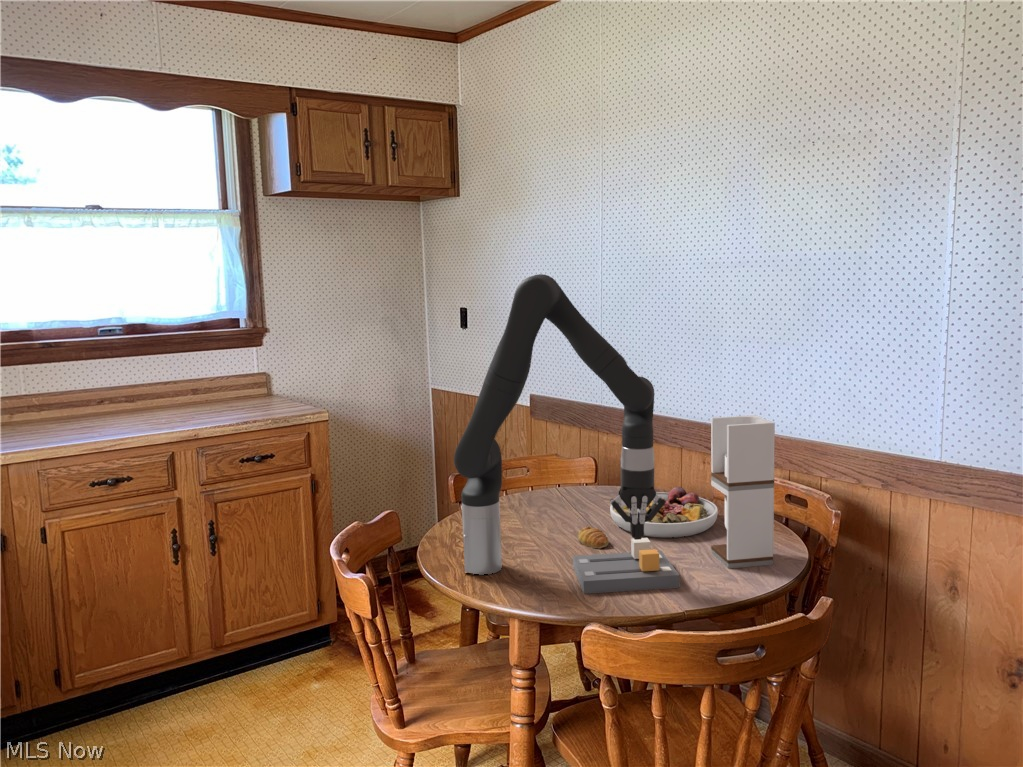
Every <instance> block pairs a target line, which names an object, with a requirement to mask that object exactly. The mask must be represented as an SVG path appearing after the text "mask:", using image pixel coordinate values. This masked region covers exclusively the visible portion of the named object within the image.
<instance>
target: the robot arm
mask: <svg viewBox="0 0 1023 767" xmlns="http://www.w3.org/2000/svg"><path fill="white" fill-rule="evenodd" d="M545 319H546V320H547V321H549V322H551V324H552V325H553V326H555V327H556V328H557V329H558V330H559V331H560V332H561V334H563V336H564V337H565V338H566V339H567V341H568V343H570V345H571V347H572V348H573V350H574V351H575V353H576V354H577V356H578V357H579V358H580V359H581V361H583V363H584V364H585V366H587V367H588V368H589V369H590V370H591V371H592V372H593V373H594V374H595V375H596V376H597V377H598V378H599V379H600V380H601V381H602V382H603V383H604V384H605V385H606V386H607V388H609V390H610V391H611V393H612V394H613V395H614V396H615V397H616V399H617V400H618V401H619V402H620V404H621V405H623V407H624V408H623V416H624V417H623V422H622V428H621V451H620V488H619V491H618V495H617V496H616V497H614V498H610V499H609V503H610V506H611V505H612V506H613V507H614V508H615V510H616V511H617V512H618V513H619V514H620V516H621V517H622V518H623V519H624V520H625V522H630V532H629V533H630V535H631V537H632V539H635V540H638V539H641V538H644V523H645V522H647V521H651V520H652V519H653V518H654V517H655V515H656V514H657V513H658V512H659V510H660V509H661V508H662V506H663V505H664V504H665V500H664V499H663V498H662V497H659V496H658V495H657V494H656V493H657V491H656V489H655V451H654V424H653V420H654V408H655V407H654V406H655V388H654V385H653V383H652V382H651V381H650V380H649V379H648V378H646V377H644V376H639V375H637V373H636V372H634V370H633V369H631V367H630V366H629V365H628V363H627V361H626V359H625V357H623V355H621V354H620V353H619V352H618V351H617V350H616V349H615V348H614V347H613V345H611V344H610V343H609V342H608V340H606V339H605V337H603V335H602V334H600V333H599V332H598V330H596V329H595V328H594V326H592V324H590V322H589V321H588V320H586V318H585V317H584V315H582V314H581V313H580V311H579V310H578V309H577V307H575V305H574V304H573V303H572V302H571V300H570V299H569V297H568V296H567V294H566V293H565V292H564V290H563V289H562V287H561V286H560V285H559V283H558V282H557V281H556V280H555V279H554V278H553V277H552V276H550V275H546V274H543V273H542V274H541V273H540V274H539V273H538V274H534V275H532V276H528V277H526V278H525V279H523V280H521V281H520V283H519V284H518V285H517V288H516V290H515V291H514V295H513V299H512V303H511V308H510V311H509V316H508V318H507V323H506V326H505V329H504V331H503V334H502V336H501V339H500V340H499V343H498V345H497V347H496V349H495V352H494V354H493V357H492V359H491V361H490V363H489V367H488V368H487V372H486V375H485V378H484V380H483V383H482V386H481V389H480V391H479V392H480V393H479V395H478V397H477V400H476V402H475V403H476V404H475V405H474V409H473V412H472V414H471V418H470V420H469V422H468V423H467V426H466V428H465V431H463V435H462V436H461V438H460V440H459V442H458V444H457V446H456V447H455V451H454V454H453V455H454V457H453V461H454V462H453V463H454V466H455V469H456V471H457V473H458V474H459V475H460V476H462V477H463V478H466V479H467V480H466V483H465V485H464V486H463V488H462V490H461V515H462V516H461V517H462V536H463V537H462V540H463V541H462V542H463V560H464V563H463V564H464V573H465V572H469V573H473V574H472V575H474V574H479V575H478V576H485V575H484V574H488V575H493V574H496V573H498V572H500V571H501V570H502V569H503V562H502V561H503V558H502V538H501V536H502V535H501V511H500V507H501V506H500V493H501V489H502V486H503V485H502V483H503V480H502V479H503V477H502V476H503V474H502V473H503V472H502V471H503V459H502V452H501V448H500V445H499V443H498V442H497V440H496V439H495V438H496V436H497V434H498V431H499V430H500V427H501V426H502V425H503V424H504V422H505V421H506V419H507V418H508V417H509V414H510V413H511V412H512V411H513V409H514V407H515V406H516V404H517V403H518V401H519V399H520V397H521V395H522V393H523V390H524V387H525V385H526V382H527V380H528V377H529V374H530V370H531V366H532V365H531V364H532V357H533V349H534V345H535V342H536V338H537V336H538V334H539V333H540V332H539V331H540V330H541V327H542V325H543V323H544V321H545ZM621 499H622V500H623V502H624V503H625V504H626V506H627V507H628V508H629V513H630V516H629V515H627V514H626V513H625V512H624V511H623V509H622V508H621V507H620V506H621V505H622V503H621ZM653 499H654V500H653ZM652 500H653V504H652V506H651V507H650V508H649V510H648V511H647V512H646V508H647V507H648V506H649V504H650V503H651V502H652ZM637 511H638V513H637ZM501 568H502V569H501ZM492 573H493V574H492Z"/></svg>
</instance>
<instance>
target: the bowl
mask: <svg viewBox="0 0 1023 767" xmlns="http://www.w3.org/2000/svg"><path fill="white" fill-rule="evenodd" d="M656 494H657V495H658V496H659V497H662V498H663V499H664V500H665V504H664V505H663V506H662V508H661V509H660V510H659V512H658V513H657V514H656V515H655V517H654V518H653V519H652V520H651V521H647V522H645V523H644V536H645V537H651V538H662V539H663V538H664V539H665V538H666V539H668V538H669V539H670V538H672V537H674V538H682V537H683V538H684V536H685V537H690V536H694V535H697V534H701V533H703V532H705V531H707V530H709V529H710V528H712V526H713V525H714V524H715V522H716V521H717V518H718V514H719V512H718V510H719V509H718V507H717V505H716V504H715V503H714V502H712V501H710V500H708V499H705V498H703V497H700V496H699V495H698V494H697V493H695V492H688V493H687V491H686V490H685V488H684V487H682V486H675V487H672V489H671V490H670V491H669V492H656ZM653 500H654V499H653ZM653 500H652V502H651V503H650V504H649V506H648V507H647V508H646V512H647V511H648V510H649V508H650V507H651V506H652V504H653ZM621 503H622V505H621V506H620V507H621V508H622V509H623V511H624V512H625V513H626V514H627V515H629V516H630V513H629V508H628V507H627V506H626V504H625V503H624V502H623V500H622V499H621ZM609 510H610V512H609V513H610V516H611V518H612V520H613V522H614V523H615V524H616V525H617V526H618V527H620V528H621V529H622V530H625V531H627V532H629V533H630V522H625V520H624V519H623V518H622V517H621V516H620V514H619V513H618V512H617V511H616V510H615V508H614V507H613V506H612V505H611V504H610V507H609ZM637 513H638V511H637ZM644 536H643V537H644Z"/></svg>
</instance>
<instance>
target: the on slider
mask: <svg viewBox="0 0 1023 767" xmlns="http://www.w3.org/2000/svg"><path fill="white" fill-rule="evenodd" d="M630 542H631V544H630V545H631V546H630V547H631V548H630V550H631V551H630V552H631V555H632V556H633V558H634V559H639V550H650V549H651V545H652V544H651V540H649V538H648V537H641V539H638V540H635V539H634V538H630Z"/></svg>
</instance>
